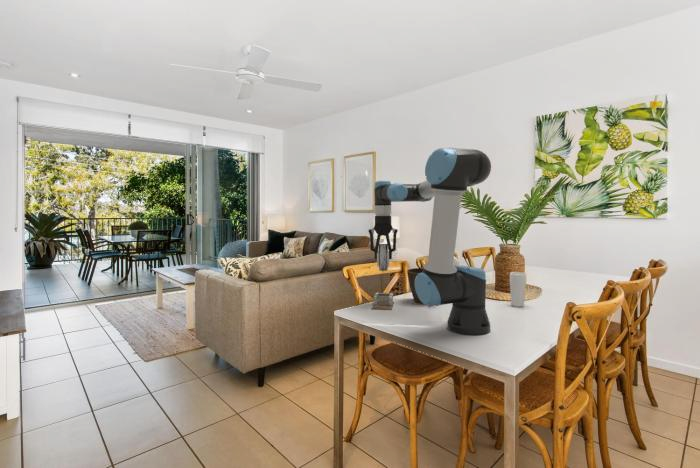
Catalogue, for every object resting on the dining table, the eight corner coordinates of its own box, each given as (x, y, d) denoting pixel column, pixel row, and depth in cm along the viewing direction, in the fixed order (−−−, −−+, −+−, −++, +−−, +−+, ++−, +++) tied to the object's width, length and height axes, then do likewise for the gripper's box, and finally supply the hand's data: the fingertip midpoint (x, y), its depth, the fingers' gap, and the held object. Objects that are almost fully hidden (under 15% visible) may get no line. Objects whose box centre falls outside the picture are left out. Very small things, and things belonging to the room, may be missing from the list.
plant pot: (421, 310, 161) (421, 274, 160) (400, 303, 174) (400, 269, 173) (446, 305, 169) (446, 271, 168) (424, 298, 182) (424, 266, 180)
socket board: (391, 313, 158) (391, 301, 157) (371, 312, 159) (370, 300, 159) (394, 304, 172) (394, 293, 172) (375, 303, 174) (374, 292, 174)
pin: (387, 271, 166) (387, 244, 165) (378, 270, 167) (378, 244, 166) (388, 269, 170) (387, 243, 169) (379, 269, 170) (379, 243, 170)
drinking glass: (517, 303, 171) (518, 271, 170) (529, 306, 164) (529, 273, 163) (506, 304, 169) (506, 272, 168) (517, 308, 162) (517, 274, 161)
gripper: (402, 214, 169) (402, 265, 170) (365, 215, 172) (366, 264, 173) (401, 215, 161) (401, 267, 163) (363, 215, 164) (363, 267, 166)
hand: (383, 266), depth 168 cm, fingers closed on pin, 4 cm apart
